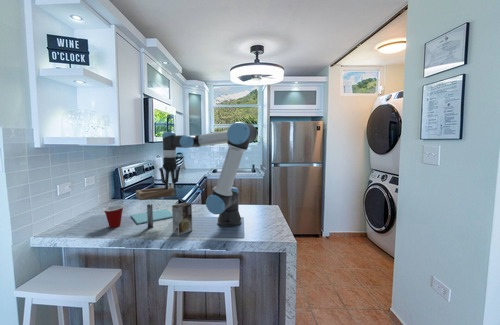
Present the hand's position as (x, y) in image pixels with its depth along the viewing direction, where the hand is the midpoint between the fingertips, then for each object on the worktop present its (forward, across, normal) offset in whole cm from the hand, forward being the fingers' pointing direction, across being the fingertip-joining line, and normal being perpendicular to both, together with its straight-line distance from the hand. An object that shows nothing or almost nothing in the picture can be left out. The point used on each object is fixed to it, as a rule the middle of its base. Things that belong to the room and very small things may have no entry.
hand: (170, 193), depth 150 cm
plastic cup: (+19, +30, -14) cm, 38 cm away
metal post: (+19, +13, +2) cm, 23 cm away
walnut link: (0, +9, 0) cm, 9 cm away
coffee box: (+19, 0, +20) cm, 27 cm away
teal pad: (+19, +6, -18) cm, 27 cm away
